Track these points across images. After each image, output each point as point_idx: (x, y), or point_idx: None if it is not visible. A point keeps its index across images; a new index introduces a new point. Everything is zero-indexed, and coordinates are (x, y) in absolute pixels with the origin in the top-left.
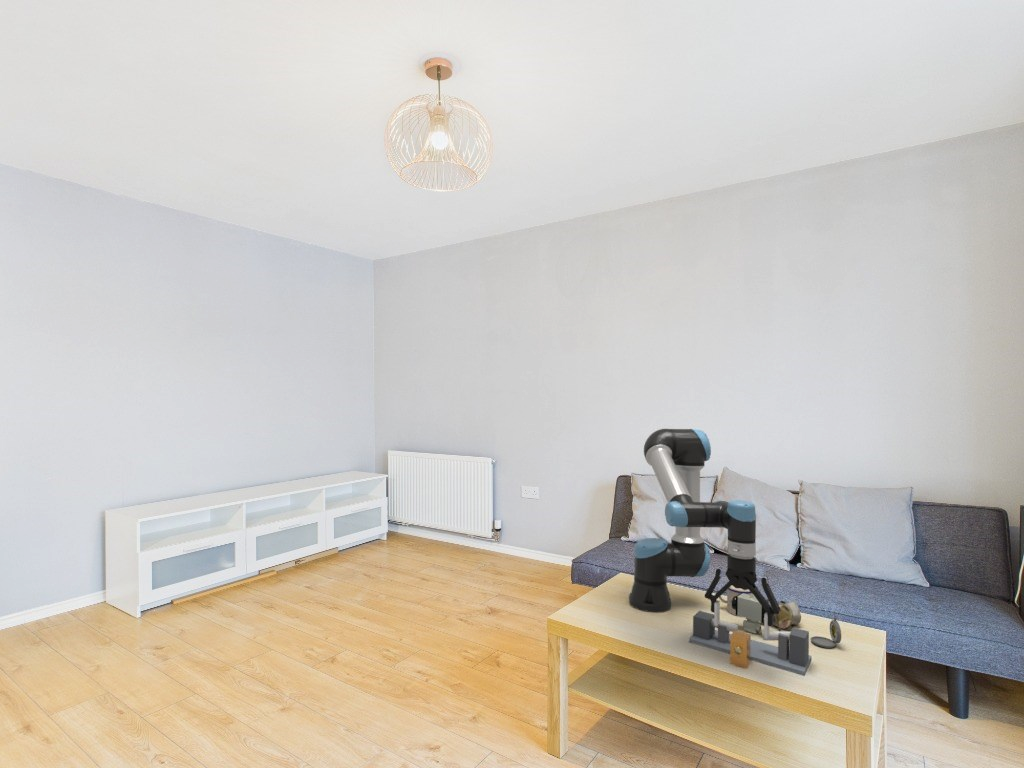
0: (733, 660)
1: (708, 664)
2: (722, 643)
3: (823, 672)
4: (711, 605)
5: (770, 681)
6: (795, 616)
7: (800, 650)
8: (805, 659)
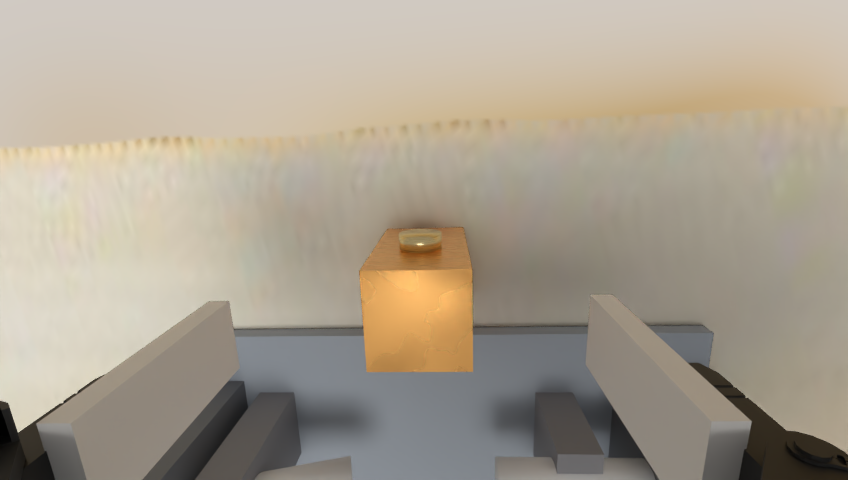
0: (447, 231)
1: (549, 142)
2: (546, 384)
3: None
4: (754, 408)
5: (264, 175)
6: None
7: None
8: None
